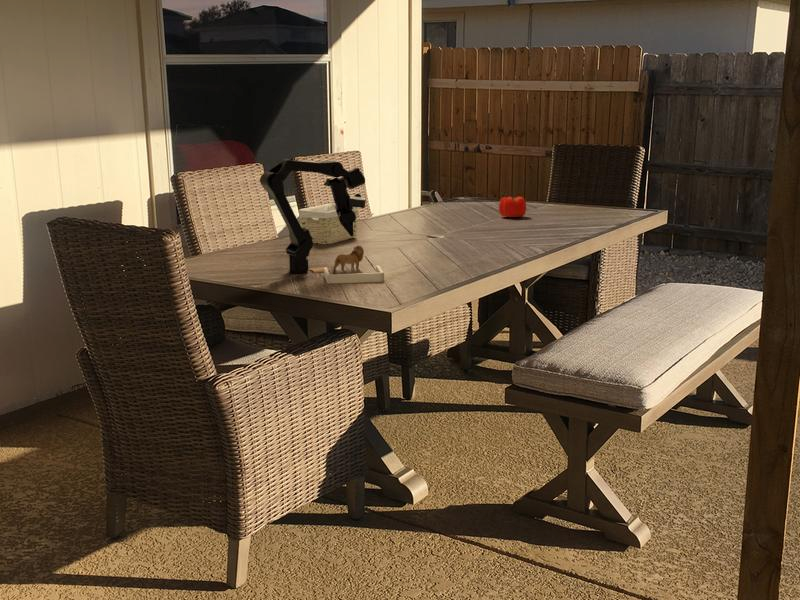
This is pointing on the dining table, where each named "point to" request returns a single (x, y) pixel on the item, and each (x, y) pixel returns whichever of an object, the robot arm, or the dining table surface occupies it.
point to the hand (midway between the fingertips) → (350, 232)
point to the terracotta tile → (318, 269)
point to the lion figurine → (350, 259)
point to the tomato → (512, 206)
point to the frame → (354, 277)
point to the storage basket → (325, 224)
